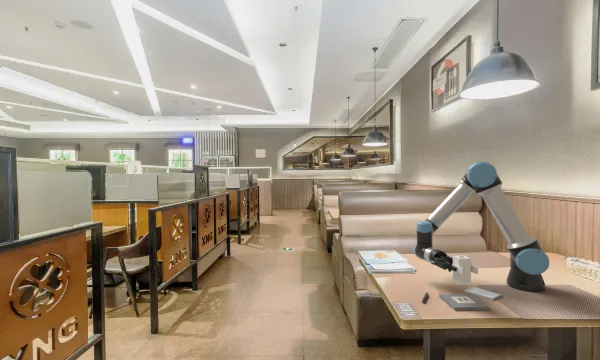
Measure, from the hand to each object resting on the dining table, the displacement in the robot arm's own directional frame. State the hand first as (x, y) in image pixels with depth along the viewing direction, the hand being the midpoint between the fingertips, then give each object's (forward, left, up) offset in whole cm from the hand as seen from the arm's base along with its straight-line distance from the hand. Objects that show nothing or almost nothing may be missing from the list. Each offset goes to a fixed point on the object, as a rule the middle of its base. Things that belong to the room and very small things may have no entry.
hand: (470, 271), depth 123 cm
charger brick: (+1, -5, -6) cm, 8 cm away
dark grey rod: (+15, -10, -15) cm, 23 cm away
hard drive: (-13, -14, -16) cm, 25 cm away
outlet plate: (+1, -5, -15) cm, 16 cm away
